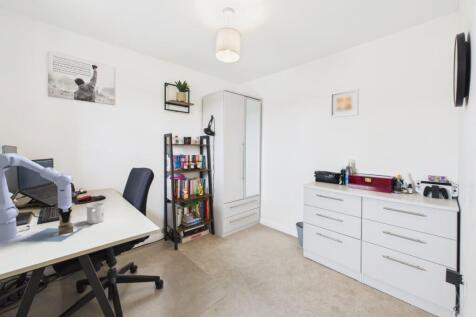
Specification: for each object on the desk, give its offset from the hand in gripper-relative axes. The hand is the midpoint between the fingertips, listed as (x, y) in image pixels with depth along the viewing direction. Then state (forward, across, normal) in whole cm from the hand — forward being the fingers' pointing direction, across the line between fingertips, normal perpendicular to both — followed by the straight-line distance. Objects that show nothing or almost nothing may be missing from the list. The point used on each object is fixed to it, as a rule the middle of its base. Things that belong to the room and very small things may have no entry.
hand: (65, 221), depth 112 cm
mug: (+7, +6, -14) cm, 17 cm away
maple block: (+1, 0, 0) cm, 1 cm away
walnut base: (+6, 0, 0) cm, 6 cm away
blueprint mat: (+7, 0, +5) cm, 8 cm away
